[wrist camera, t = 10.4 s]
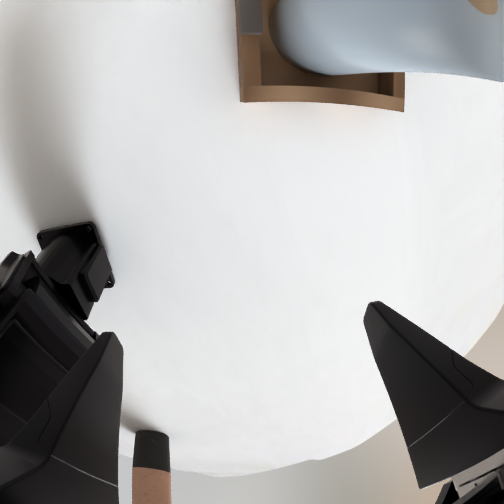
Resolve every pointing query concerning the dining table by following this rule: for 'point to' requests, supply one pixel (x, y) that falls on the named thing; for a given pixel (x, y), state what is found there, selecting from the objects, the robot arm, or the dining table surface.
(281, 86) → the square wooden tray
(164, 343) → the dining table surface
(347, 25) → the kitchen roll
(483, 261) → the dining table surface
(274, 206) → the dining table surface
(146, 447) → the travel mug
